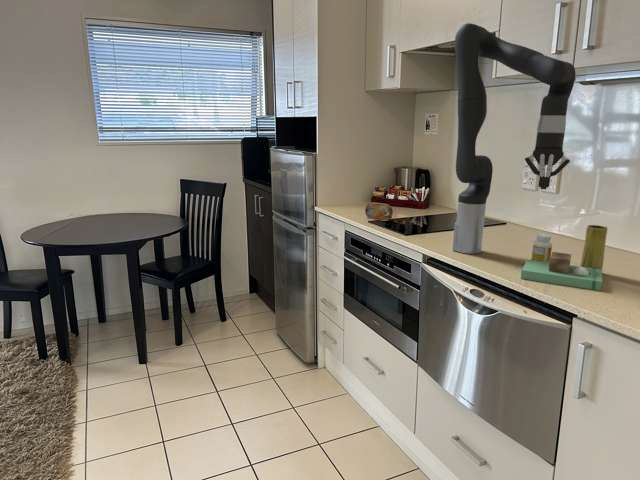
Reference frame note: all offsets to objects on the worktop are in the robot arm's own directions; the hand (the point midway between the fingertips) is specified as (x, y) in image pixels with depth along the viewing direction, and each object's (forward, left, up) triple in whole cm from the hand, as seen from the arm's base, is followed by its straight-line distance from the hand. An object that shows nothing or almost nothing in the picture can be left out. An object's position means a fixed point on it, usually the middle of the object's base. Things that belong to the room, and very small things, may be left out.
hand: (543, 189), depth 145 cm
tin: (-71, +43, -25) cm, 87 cm away
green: (+8, -12, -24) cm, 28 cm away
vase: (+16, -1, -24) cm, 29 cm away
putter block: (+8, -12, -22) cm, 26 cm away
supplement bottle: (+2, 0, -24) cm, 24 cm away
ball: (+13, -12, -22) cm, 28 cm away
